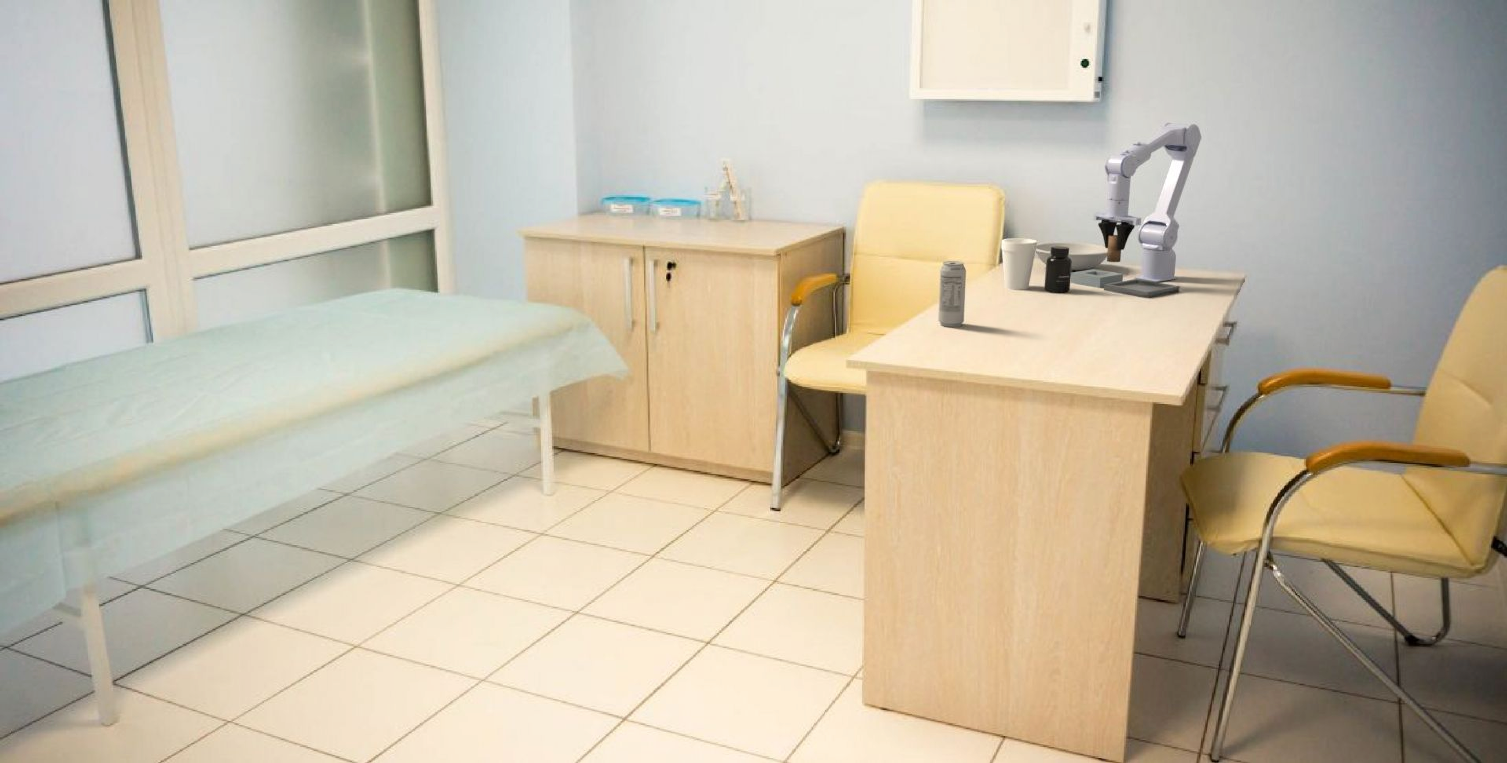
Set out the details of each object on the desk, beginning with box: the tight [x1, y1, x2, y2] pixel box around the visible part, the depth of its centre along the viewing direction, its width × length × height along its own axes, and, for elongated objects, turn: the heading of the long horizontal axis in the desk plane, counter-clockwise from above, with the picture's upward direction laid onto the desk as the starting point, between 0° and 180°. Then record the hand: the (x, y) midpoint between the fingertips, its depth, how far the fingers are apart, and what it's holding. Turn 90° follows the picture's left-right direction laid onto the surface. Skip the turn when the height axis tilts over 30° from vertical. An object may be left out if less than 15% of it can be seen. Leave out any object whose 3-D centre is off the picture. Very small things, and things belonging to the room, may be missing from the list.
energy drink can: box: [938, 260, 967, 328], centre depth 296 cm, size 6×6×15 cm
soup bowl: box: [1035, 241, 1108, 272], centre depth 371 cm, size 24×24×7 cm
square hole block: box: [1070, 268, 1124, 289], centre depth 350 cm, size 10×10×3 cm
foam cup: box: [1000, 237, 1038, 291], centre depth 342 cm, size 10×9×13 cm
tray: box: [1103, 278, 1180, 299], centre depth 338 cm, size 14×14×2 cm
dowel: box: [1106, 234, 1122, 263], centre depth 343 cm, size 4×4×7 cm
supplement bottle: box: [1043, 246, 1072, 294], centre depth 337 cm, size 7×7×12 cm
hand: (1114, 248), depth 343 cm, fingers closed on dowel, 4 cm apart
